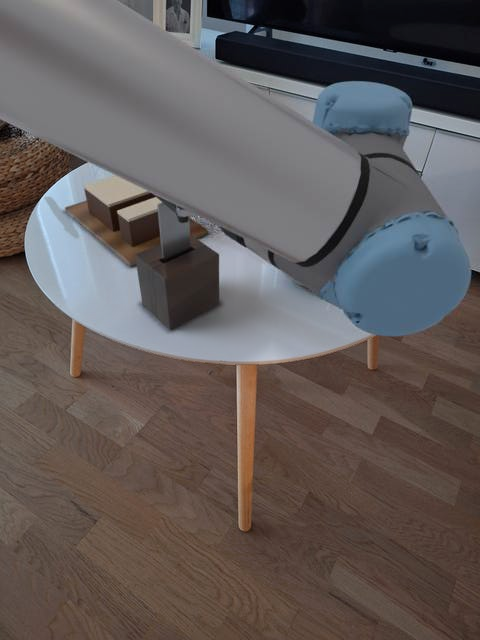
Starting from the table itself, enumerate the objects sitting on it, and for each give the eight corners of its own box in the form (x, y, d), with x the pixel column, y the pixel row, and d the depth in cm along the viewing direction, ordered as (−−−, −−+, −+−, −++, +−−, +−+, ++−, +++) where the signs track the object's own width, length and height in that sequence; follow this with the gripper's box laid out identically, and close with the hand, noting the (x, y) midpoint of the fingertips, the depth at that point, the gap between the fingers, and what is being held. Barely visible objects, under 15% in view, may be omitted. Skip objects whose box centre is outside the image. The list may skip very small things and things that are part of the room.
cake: (164, 213, 97) (161, 186, 93) (113, 232, 91) (108, 204, 87) (138, 195, 103) (135, 169, 99) (89, 212, 97) (83, 185, 92)
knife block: (219, 303, 77) (219, 254, 71) (170, 330, 72) (165, 279, 66) (190, 281, 82) (187, 232, 75) (142, 304, 77) (134, 254, 70)
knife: (195, 257, 71) (190, 132, 59) (169, 269, 69) (157, 142, 56) (184, 249, 73) (177, 126, 60) (158, 260, 70) (145, 134, 58)
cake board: (208, 234, 93) (207, 229, 93) (130, 267, 84) (130, 262, 84) (138, 187, 107) (137, 183, 107) (65, 211, 98) (64, 207, 98)
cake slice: (183, 226, 93) (182, 199, 89) (132, 247, 87) (128, 219, 83) (172, 218, 96) (170, 191, 91) (121, 238, 89) (116, 210, 85)
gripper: (209, 273, 50) (100, 192, 62) (308, 226, 58) (194, 162, 70) (208, 211, 45) (89, 136, 57) (317, 168, 53) (192, 111, 65)
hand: (147, 151), depth 64 cm, fingers closed on knife, 3 cm apart
